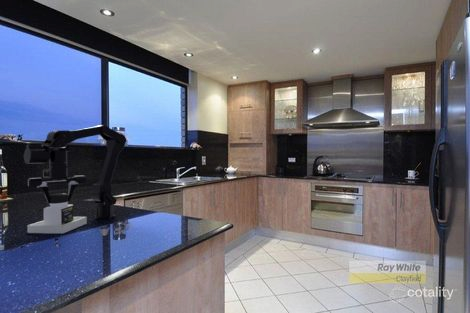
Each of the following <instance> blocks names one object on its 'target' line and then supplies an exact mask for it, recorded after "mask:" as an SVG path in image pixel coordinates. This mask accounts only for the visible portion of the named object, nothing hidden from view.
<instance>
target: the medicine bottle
mask: <svg viewBox="0 0 470 313" xmlns="http://www.w3.org/2000/svg"><path fill="white" fill-rule="evenodd" d="M49 197H50V204H48V205H49V206H46V207H44V208H43V220H44V225H64V224H67V223H70V222H72V221H74V217H75V216H74V204H69V202H68V193H64V192H63V193H54V194H51V195H50V194H49Z"/></svg>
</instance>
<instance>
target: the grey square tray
mask: <svg viewBox="0 0 470 313" xmlns="http://www.w3.org/2000/svg"><path fill="white" fill-rule="evenodd" d="M87 220H88V217H87V216H74V221H72V222H70V223H67V224H64V225H44V219H43V220H41V221H37V222H35V223H30V224H27V234H65V233H68V232H70V231H72V230H74V229H77V228H79V227H82V226H85V225H87V224H88V223H87Z"/></svg>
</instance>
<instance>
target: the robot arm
mask: <svg viewBox="0 0 470 313" xmlns="http://www.w3.org/2000/svg"><path fill="white" fill-rule="evenodd" d="M95 136H100V137H101V138H102V139H103V141H105V142H106V145H105V146H106V149H107V152H106V155H105V158H104V163H103V167H102V169H101V172H100V173H101V174H100V176H99V180H98V182H96V183H93V184H92V186H91V190H90V191H89V193H90V198H91V199H92V200H93V202H94V204H95V205H96V207H95V217H94V220H110V219H111V218H115V217H116V215H117V214H115V211H114V210H115V205H116V203H117V198H116V197H115V196H114V195H112V192H113V188H112V180H113V175H114V172H115V168H116V165H117V161H118V158H119V154H120V152H122V150H124V148H125V145H126V143H127V138H126V136H125V135H124V134H123V133H120V132H118V131H116V130H114V129H112V128H110V127H109V126H107V125H105V124H101V125H99V124H98V125H96V126H92V127H86V128H81V129H75V130H53V131H50V132H48V133H47V135H46V139H45V140H44V141H43V143H42V144H41V145H34V144H26V148H25V150H24V153H23V159H24V160H23V161H24V163H25V164H26V165H27V164H28V165H29V164H31V165H32V164H46V163H47V162H48V161H49V168H43V169H42V177H43V178H42V177H29V178H28V179H27V186H28V188H29V187H31V188H32V187H33V188H34V187H36V188H37V189H41V190H42V191H41V192H43V194H44V197H45V199H46V201H47V204H48V205H49V204H50V197H49V196H50V192H49V186H48V184H60V183H62V184H63V183H64V184H65V183H68V190H67V195H68V203H69V202H70V201H71V198H72V196H73V193H74V191H75V190H76V188H77V186H80V184H87V183H88V177H87V175H73V177H68V152H74V149H73V148H71V147H70V146H69V145H68V144H70V143H72V142H75V141H76V140H77V141H78V140H80V139H85V138H89V137H95ZM50 148H52V149H50Z"/></svg>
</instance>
